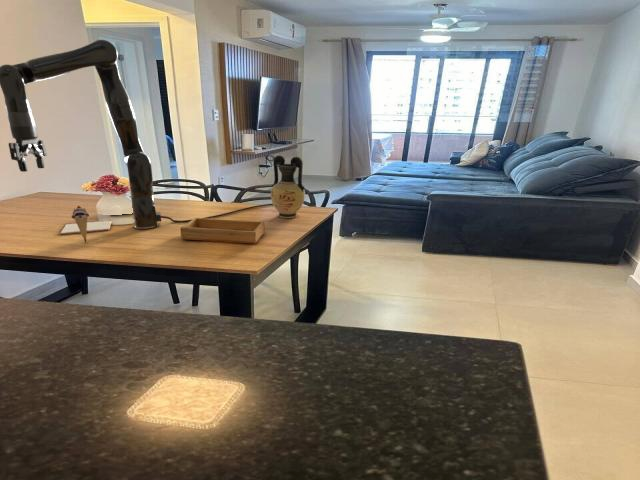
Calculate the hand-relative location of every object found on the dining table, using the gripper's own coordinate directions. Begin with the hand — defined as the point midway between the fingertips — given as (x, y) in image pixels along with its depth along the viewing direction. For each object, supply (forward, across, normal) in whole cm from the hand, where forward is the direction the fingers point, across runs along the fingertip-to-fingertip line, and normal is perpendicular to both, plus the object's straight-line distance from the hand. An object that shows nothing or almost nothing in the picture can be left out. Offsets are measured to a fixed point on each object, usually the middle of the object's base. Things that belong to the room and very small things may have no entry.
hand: (32, 169), depth 144 cm
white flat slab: (+28, +17, -5) cm, 33 cm away
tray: (+28, +10, -68) cm, 75 cm away
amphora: (+29, +46, -91) cm, 106 cm away
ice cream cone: (+28, -3, -17) cm, 33 cm away
